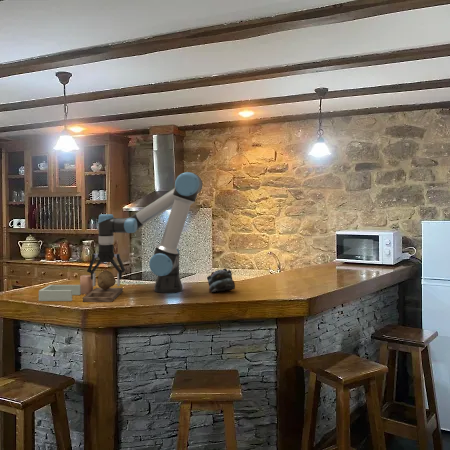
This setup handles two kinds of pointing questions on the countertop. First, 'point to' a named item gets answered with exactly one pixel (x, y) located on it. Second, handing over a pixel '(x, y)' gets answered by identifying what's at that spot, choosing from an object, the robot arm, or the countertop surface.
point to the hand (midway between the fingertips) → (106, 285)
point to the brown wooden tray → (103, 295)
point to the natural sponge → (106, 280)
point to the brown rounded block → (86, 284)
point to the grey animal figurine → (221, 281)
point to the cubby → (59, 292)
